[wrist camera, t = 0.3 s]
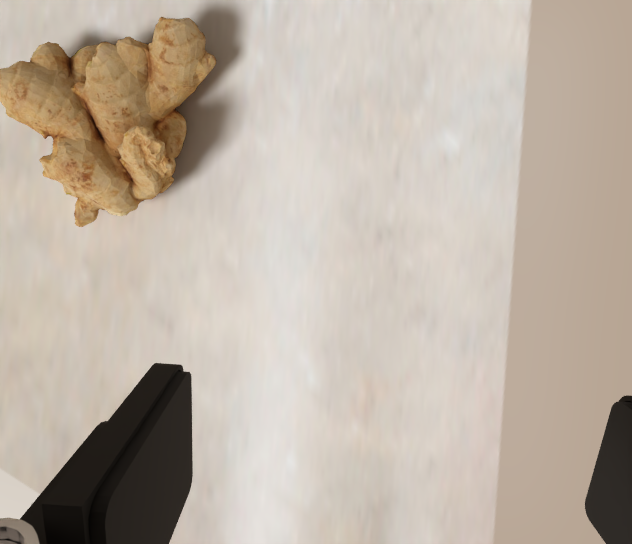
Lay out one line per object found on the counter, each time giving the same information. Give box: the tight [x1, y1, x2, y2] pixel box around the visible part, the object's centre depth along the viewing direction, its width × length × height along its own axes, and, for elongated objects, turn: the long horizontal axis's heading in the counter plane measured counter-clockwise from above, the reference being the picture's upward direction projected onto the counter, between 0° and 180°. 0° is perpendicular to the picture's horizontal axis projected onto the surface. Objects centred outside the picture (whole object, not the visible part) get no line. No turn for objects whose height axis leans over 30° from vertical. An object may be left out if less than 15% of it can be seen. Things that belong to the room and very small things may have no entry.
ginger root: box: [0, 17, 216, 227], centre depth 34 cm, size 16×16×8 cm
